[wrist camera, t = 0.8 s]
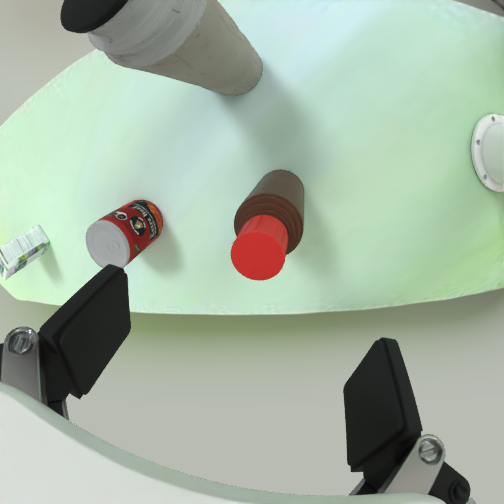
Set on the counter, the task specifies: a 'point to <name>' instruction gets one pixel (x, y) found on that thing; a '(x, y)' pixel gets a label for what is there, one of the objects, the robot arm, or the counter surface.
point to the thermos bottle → (170, 40)
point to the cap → (260, 248)
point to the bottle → (276, 204)
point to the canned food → (124, 233)
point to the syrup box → (22, 251)
